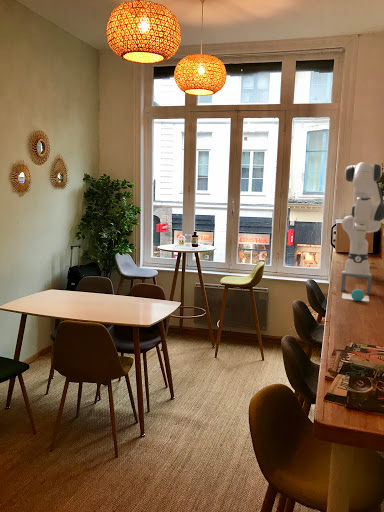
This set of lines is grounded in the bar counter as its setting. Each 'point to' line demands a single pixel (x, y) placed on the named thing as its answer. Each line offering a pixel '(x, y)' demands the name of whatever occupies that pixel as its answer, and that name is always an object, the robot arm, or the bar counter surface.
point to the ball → (357, 294)
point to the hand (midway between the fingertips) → (359, 250)
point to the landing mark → (348, 296)
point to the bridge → (357, 276)
